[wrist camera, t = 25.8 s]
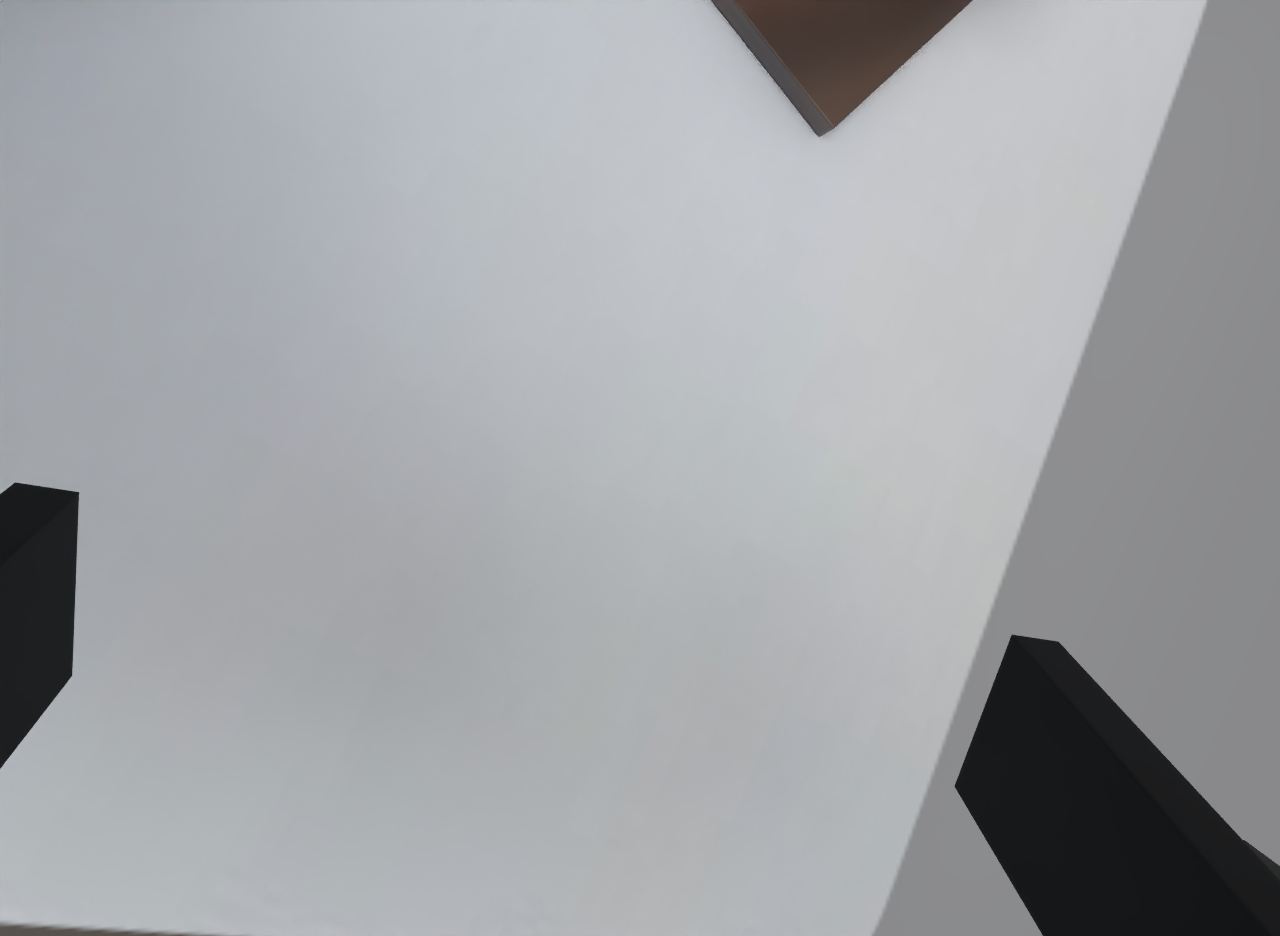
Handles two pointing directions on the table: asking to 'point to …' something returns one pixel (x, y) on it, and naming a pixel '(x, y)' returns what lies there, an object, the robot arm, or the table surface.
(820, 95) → the walnut board
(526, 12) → the table surface
